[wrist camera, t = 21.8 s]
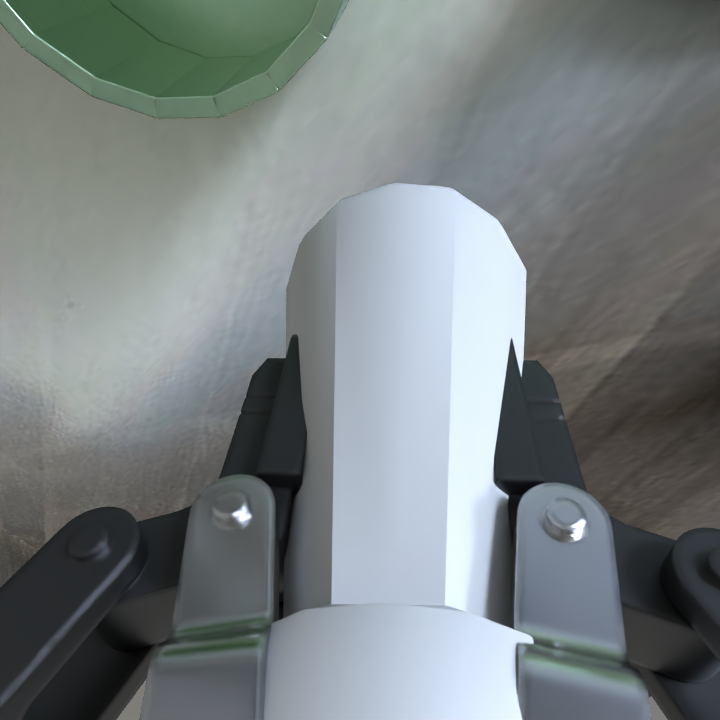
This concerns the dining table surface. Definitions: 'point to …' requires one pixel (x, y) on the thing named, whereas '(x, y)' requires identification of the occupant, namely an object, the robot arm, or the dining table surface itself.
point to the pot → (173, 48)
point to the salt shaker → (400, 465)
